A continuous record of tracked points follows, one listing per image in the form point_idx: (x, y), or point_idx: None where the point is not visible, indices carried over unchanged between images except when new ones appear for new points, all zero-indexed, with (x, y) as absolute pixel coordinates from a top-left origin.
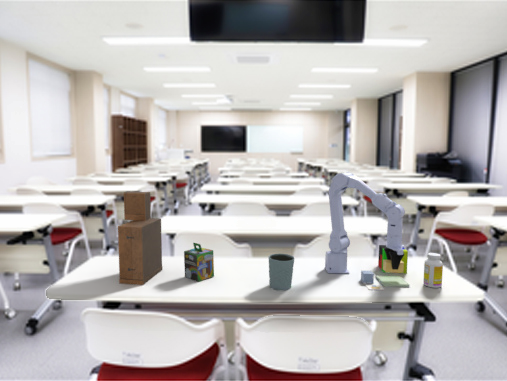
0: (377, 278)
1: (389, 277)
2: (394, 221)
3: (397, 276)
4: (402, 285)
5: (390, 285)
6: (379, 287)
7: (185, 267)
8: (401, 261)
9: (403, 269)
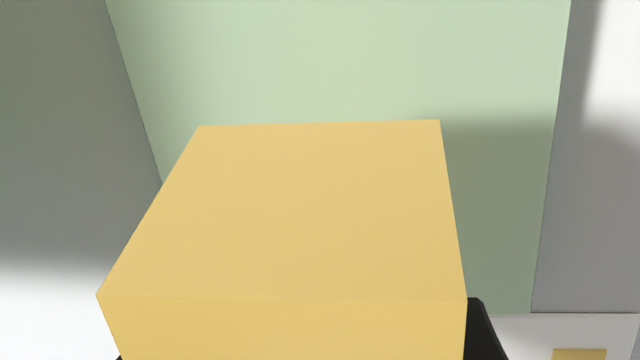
0: None
1: None
2: None
3: (144, 47)
4: (556, 76)
5: (534, 236)
6: (566, 346)
7: None
8: (283, 316)
9: (444, 162)
